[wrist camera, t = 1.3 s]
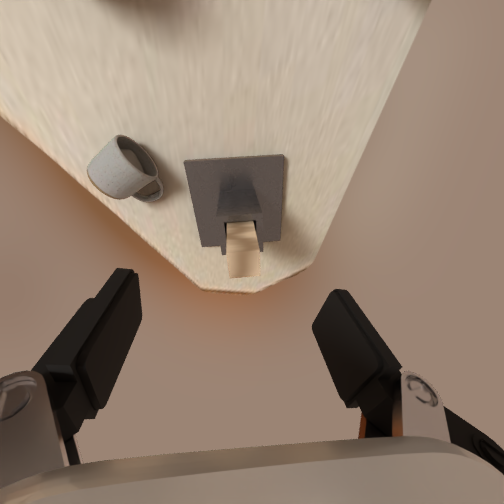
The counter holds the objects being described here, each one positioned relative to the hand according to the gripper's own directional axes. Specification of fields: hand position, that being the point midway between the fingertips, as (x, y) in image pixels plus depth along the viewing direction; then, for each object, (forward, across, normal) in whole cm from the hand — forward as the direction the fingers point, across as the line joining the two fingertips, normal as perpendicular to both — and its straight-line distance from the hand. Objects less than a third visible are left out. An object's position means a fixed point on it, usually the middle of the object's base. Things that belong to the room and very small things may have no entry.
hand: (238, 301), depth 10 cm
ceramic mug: (+35, +16, +4) cm, 38 cm away
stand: (+34, -3, +7) cm, 35 cm away
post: (+32, -3, +7) cm, 33 cm away
